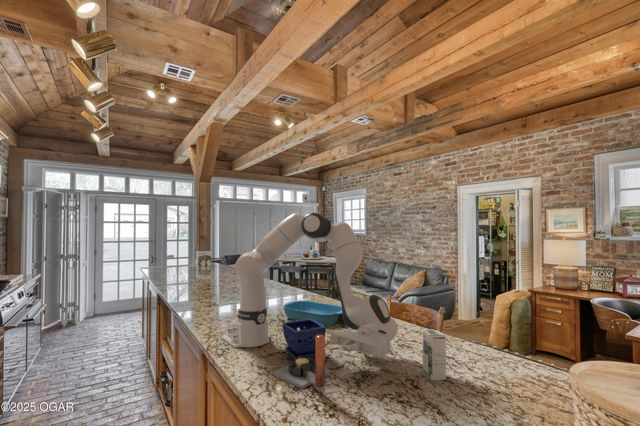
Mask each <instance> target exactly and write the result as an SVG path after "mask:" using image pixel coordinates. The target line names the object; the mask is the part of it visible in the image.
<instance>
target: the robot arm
mask: <svg viewBox="0 0 640 426" xmlns="http://www.w3.org/2000/svg"><path fill="white" fill-rule="evenodd" d="M303 237H307V238H308V239H310V240H311V241H314V242H315V243H318V244H326V243H328V242H329V245H331V246H330V247H331V248H332V251H333V253H334V257H335V269H334V278H335V279H334V280H335V283H336V287H337V292H338V297H339V300H340V304H341V305H340V306H342V315H343V320H344V322H345V324H346V325H345V326H347V327H349V328H350V329H339V330H336V331H333V332H332V334H331V342H332V343H333V344H334V345H338V346H341V350H342V351H346V352H349V353H350V352H357V351H358V352H361V353H363V354H364V353H365V354H368V355H372V356H374V357H377V358H378V357H379V358H381V357H384V356H386V355H387V354H389V353H391V342H392V340H393V339H395V338H396V336H397V335H398V332H399V331H398V330H399V328H398V327H399V326H398V324H397V321H396V320H395V319H394V318H392V317H391V315H390V310H389V309H390V308H389V307H388V305H387V302H386V301H385V300H384V299H383V298H382V297H381V296H379V295H377V294H370V295H368V296H366V297H364V298H362V299H359V300H357V301H356V300H355V299H354V294H353V290H352V287H351V278H352V276H353V274H354V272H355V271H356V270H357V269H358V268H359V266H360V264H361V263H362V260H363V257H364V256H363V251H362V247H361V244H360V242H359V240H358V238H357V236H356V234H355V232H354V231H353V229H352V227H351V226H350V225H349V224H348V223H347V222H343V221H340V222H336V223H332V222H331V220H329V219H328V218H326V217H325V216H324V215H323V214H320V213H317V212H310V213H307V214H306V215H305V216H304V215H302V214H301V213H299V212H295V213H291V214H290V215H289V216H287V217H285V218H284V219H283V220H281V221H280V222H278V224H277V225H275V227H273V229H271V230H270V232H268V233H267V234H266V235H265V236H264V237H263V239H261V241H260V242H259V243H258V244H257V245H256V246H255V248H253V249H252V250H251V251H249V252H245V253H243V254H241V255H240V256H239V257H238V259H237V260H236V262H235V266H234V268H235V272H236V274H237V279H238V284H239V308H238V309H237V310H236V313H237V317H236V318H235V319H233V320H232V321H231V322H230V323H229V324H228V326H227V331H226V332H227V333H225V334H223V335H222V336H221V339H222V340H223V341H225V342H226V343H227V344H229V345H230V346H231V347H233V348H256V347H260V346H264V345H266V344H268V343H269V342H270V338H271V334H270V333H269V322H268V321H269V320H268V318H267V316H268V310H267V309H268V308H267V290H266V285H265V279H264V273H266V271H268V270H269V269H270V268H271V266H273V264H275V263H276V262H277V260H279V259H280V257H282V256H283V254H285V253H286V252H288V250H289V249H290V248H291V247H292V246H293V245H294V244H295V243H297V242H298V241H299V240H300V239H301V238H303ZM351 329H352V330H351Z"/></svg>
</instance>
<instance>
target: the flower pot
mask: <svg viewBox="0 0 640 426" xmlns="http://www.w3.org/2000/svg"><path fill="white" fill-rule="evenodd" d="M326 327H327V326H324V325H322V324H320V323H318V322H317V321H315V320H313V319H305V320H298V321H296V320H292V321H287V322H283V323H282V331H283V337H284V340H285V342H286V344H287V346H285V347H284V349H285V351H286V352H287V354H288V355H290V357H292V358H293V359H294V356H301V355H302V356H303V357H304V358H310V357H313V358H314V359H315V352H316V335H324V336H325V337H326V329H327V328H326ZM298 328H299V330H298Z"/></svg>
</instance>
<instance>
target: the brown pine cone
mask: <svg viewBox="0 0 640 426" xmlns="http://www.w3.org/2000/svg"><path fill="white" fill-rule="evenodd" d="M338 322H339V324H340V325H343V324H345V322H344V320H343V315H342V314H341V316H340V318H339V321H338Z"/></svg>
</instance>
